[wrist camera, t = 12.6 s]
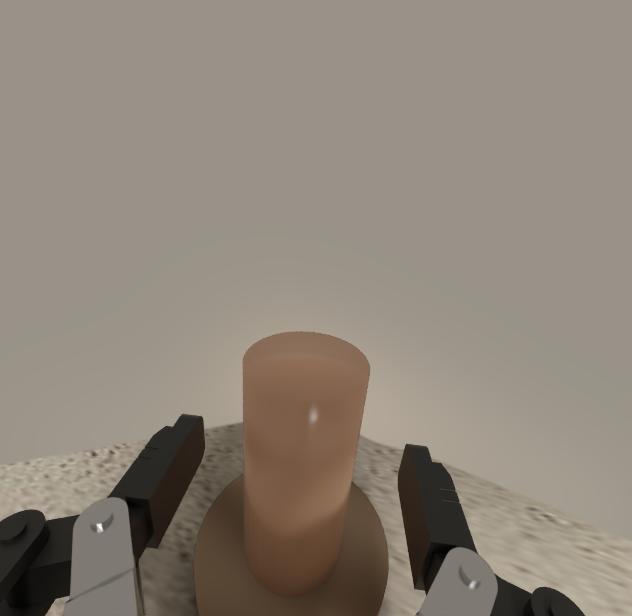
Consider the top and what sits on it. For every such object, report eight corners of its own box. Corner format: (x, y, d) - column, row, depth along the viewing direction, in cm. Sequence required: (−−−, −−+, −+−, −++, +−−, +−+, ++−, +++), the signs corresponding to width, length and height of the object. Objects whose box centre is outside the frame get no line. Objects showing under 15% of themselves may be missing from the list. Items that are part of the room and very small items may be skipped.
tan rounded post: (281, 481, 20) (290, 322, 16) (355, 525, 18) (387, 354, 14) (222, 554, 16) (214, 367, 12) (308, 622, 14) (334, 422, 10)
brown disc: (272, 462, 24) (273, 437, 23) (402, 537, 20) (410, 510, 19) (152, 600, 16) (146, 570, 15) (328, 775, 12) (335, 749, 11)
